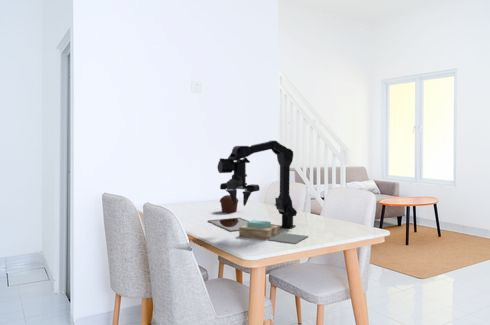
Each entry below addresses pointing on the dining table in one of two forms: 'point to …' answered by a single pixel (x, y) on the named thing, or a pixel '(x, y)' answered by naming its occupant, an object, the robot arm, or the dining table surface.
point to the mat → (288, 238)
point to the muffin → (228, 204)
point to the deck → (259, 232)
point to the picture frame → (230, 223)
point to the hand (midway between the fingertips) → (239, 205)
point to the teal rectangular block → (258, 224)
